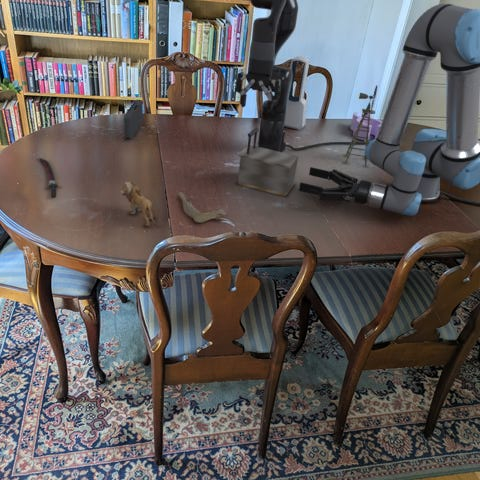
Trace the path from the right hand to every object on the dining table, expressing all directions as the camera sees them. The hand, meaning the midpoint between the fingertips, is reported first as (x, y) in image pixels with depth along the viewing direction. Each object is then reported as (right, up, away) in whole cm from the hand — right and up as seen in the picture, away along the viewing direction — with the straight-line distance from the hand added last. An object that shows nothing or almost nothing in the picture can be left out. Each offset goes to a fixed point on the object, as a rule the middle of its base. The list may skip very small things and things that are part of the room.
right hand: (304, 178), depth 154 cm
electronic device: (+2, +32, +62) cm, 70 cm away
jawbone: (-34, -11, -10) cm, 37 cm away
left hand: (-16, +22, -4) cm, 28 cm away
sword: (-84, 0, -3) cm, 84 cm away
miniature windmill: (+25, +11, +34) cm, 43 cm away
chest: (-12, -1, +8) cm, 15 cm away
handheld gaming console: (-65, +25, +39) cm, 80 cm away
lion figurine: (-51, -14, -18) cm, 56 cm away
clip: (+36, +28, +62) cm, 77 cm away
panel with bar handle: (-12, +7, +3) cm, 14 cm away
